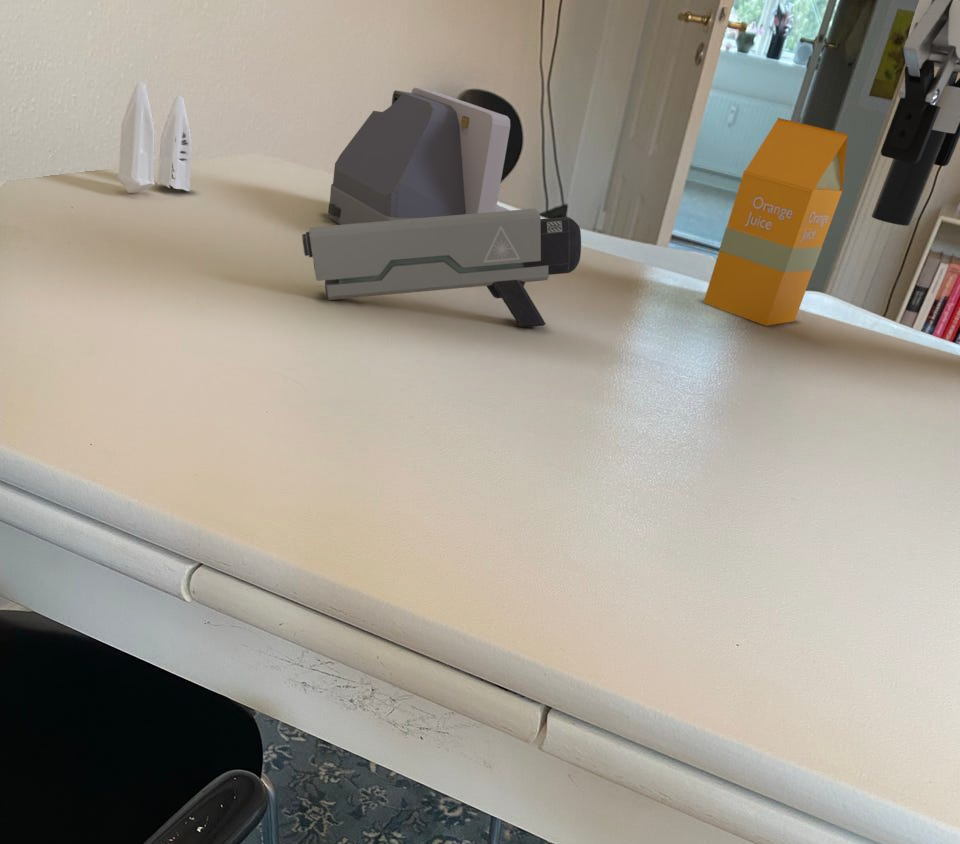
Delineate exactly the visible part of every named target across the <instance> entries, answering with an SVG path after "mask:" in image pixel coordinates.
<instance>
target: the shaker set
mask: <svg viewBox="0 0 960 844" xmlns="http://www.w3.org/2000/svg"><path fill="white" fill-rule="evenodd" d="M147 89H148V88H147V85H146V83H145V82H143V81H139V82H137V83H136V85H135V86H134V89H133V92H132V94H131V97H130V100H129V102H128V105H127V108H126V110H125V113H124V116H123V119H122V122H121V128H120V144H119V162H118V163H119V164H118V165H119V166H118V174H117V176H116V177H117V180H118V181H119V183H120V184H121V185H122V186H123V188H124V190H126V192H127V193H128V194H135V193H140V192H143V191H146V190H148V189H150V188H152V187H155V185H156V184H157V185H159V186H161V185H163V186H166V187H167V188H168V189H171V187H172V188H173V189H176V190H183V191H185V192H191V191H192V190H191V169H192V168H191V167H192V154H193V153H192V151H193V150H192V149H193V142H192V141H193V140H192V134H191V130H190V123H189V118H188V113H187V108H186V103H185V99H184V96H181V95H177V96H176V97H175V98H174V100H173V103H172V105H171V107H170V111H169V113H168V116H167V119H166V121H165V123H164V125H163V129H162V131H161V135H160V143H159V159H158V170H157V171H158V172H157V180H156V181H157V182H156V183H155V180H154V177H155V176H154V175H155V174H154V173H155V154H156V153H155V151H156V128H155V127H156V126H155V123H154V117H153V113H152V108H151V104H150V99H149V95H148V90H147Z"/></svg>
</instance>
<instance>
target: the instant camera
mask: <svg viewBox="0 0 960 844" xmlns="http://www.w3.org/2000/svg"><path fill="white" fill-rule="evenodd" d="M510 131H511V119H510V118H509V116H508V115H505V114H502V113H499V112H496V111H493V110H490V109H487V108H484V107H481V106H479V105H476V104H473V103H470V102H467V101H464V100H462V99H458V98H455V97H452V96H449V95H447V94H443V93H441V92H438V91H435V90H433V89H426V88H421V87H420V88H419V87H414V88H412V89H411V92H408V91H403V90H394V91H393V93H392V97H391V105H390V106H389V107H388V108H386V109H385V110H383V111H378V110H372V111H371V113H370V114H369V116H368V117H367V119H365V121H364V122H363V124H361V126H360V128H359V129H358V131H357V132H356V133H355V135H354V136H353V137H352V139H351V140H350V141H349V143H347V145H346V146H345V148H344V149H343V150H342V152H341V153H340V155H339V156H338V158H337V160H336V161H335V163H334V169H333V180H332V183H331V185H330V192H329V193H330V195H329V203H328V210H327V213H328V218H329V219H330V220H332V221H334V222H335V223H337V224H338V225H345V224H356V223H368V222H380V221H392V220H404V219H416V218H428V217H440V216H452V215H464V214H476V213H488V212H499V211H511V210H510V209H508V208H506V207H504V206H500V205H499V204H498V199H499V195H500V194H499V193H500V188H501V182H502V177H503V171H504V167H505V166H504V165H505V160H506V154H507V149H508V142H509V136H510Z"/></svg>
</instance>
